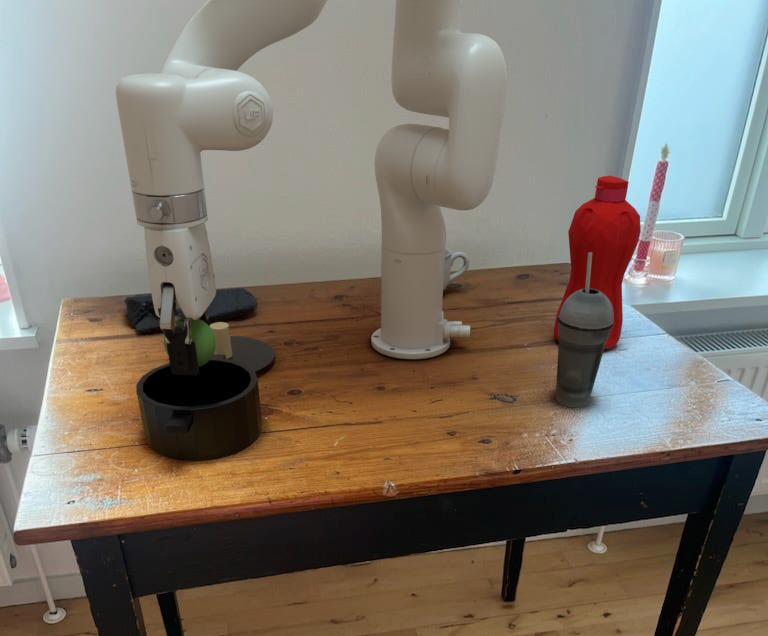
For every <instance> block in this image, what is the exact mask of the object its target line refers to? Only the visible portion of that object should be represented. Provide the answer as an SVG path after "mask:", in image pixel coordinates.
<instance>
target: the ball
mask: <svg viewBox="0 0 768 636" xmlns="http://www.w3.org/2000/svg"><path fill="white" fill-rule="evenodd" d="M175 322H176V324H177V326H180V327H181V328H182V330H183V331H184V321H175ZM191 329H192V342H195V344H196V352H197V359H198V366H199V367H200V366H202V365H204V364H206V363H207V362H208V361H209V360H210V359H211V358H212V356H213V354H214V352H215V347H216V340H215V336H214V333H213V331H212V329H211V328H210V327H209V326H208V325H207V324H206V323H205V322H204V321H202V320H200V319H197V320H193V319H192V318H191ZM163 345H164V349H165V352H166V354H167V356H168V357H169V355H168V349H167V344H166V342H165V335H164V337H163Z"/></svg>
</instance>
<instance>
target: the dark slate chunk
mask: <svg viewBox="0 0 768 636" xmlns="http://www.w3.org/2000/svg"><path fill="white" fill-rule="evenodd" d="M124 303H125V305H126V311H127V315H128V320H129V323H130V326H131V327H134V329H135V330H136V331H137V332H140V333H145V334H149V333H151V332H157V331H162V330H161V328H160V318H159V317H158V316H157V315H156V312H155V309H154V305H153V300H152V294H150V295H141V296H140V295H137V296H128V297H126V298H125V300H124ZM257 308H258V300H257V298H256V297H255V296H254V294H253V293H252V292H250V291H248V290H247V289H246V288H244V287H237V288H224V289H216V295H215V297H214V299H213V300H212V302H211V303H210V305H209V306H208V308H207V309H208V314H209V317H208V320H204V321H209V323H211V324H213V323H217V322H222V321H228V320H232V319H236V320H237V319H238V318H240V317H241V316H243V315H247V314H248V313H251V312H254V311H255V310H256V309H257ZM175 316H184V314H183V311H175Z"/></svg>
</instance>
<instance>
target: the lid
mask: <svg viewBox="0 0 768 636" xmlns="http://www.w3.org/2000/svg"><path fill="white" fill-rule="evenodd" d="M210 328H211V329H212V331H213V333H214V336H215V340H216V347H215V352H214V354H221V355H225V356H226V359H228V360H234V361H237V362H240V363H242V364H245V365H247V366H249V367H250V368H251V369H252V370H253V371H255V373H256V376H257V375H259V374H261V373H263V372H265V371H267V370H268V369H269V368H270V367H271V366H272V365H273V364H274V363H275V360H276V352H275V350H274V348H273V347H272V345H270V344H268V343H267V342H265V341H263V340H261V339H257V338H254V337H249V336H238V335H231V332H230V325H229V323H227V322H224V321H216V322H213V323H210Z"/></svg>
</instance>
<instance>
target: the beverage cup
mask: <svg viewBox="0 0 768 636" xmlns="http://www.w3.org/2000/svg"><path fill="white" fill-rule="evenodd" d="M591 263H592V253H591V252H589V253H588V261H587V273H586V285H585V289H581V290H578V291H576V292H575V293H573V294H572V295H570V296H569V297H568V298H567V299H566V301H565V302H564V304H563V305H562V308H561V311H560V314H559V316H558V319H557V320H558V334H559V341H558V348H557V349H558V351H557V363H556V365H557V366H556V381H555V390H556V391H555V392H556V396H555V400H556V402H558V403H559V404H560V405H562V406H565V407H569V408H582V407H585V406H587V405H588V404H589V401H590V398H591V395H592V393H593V391H594V386H595V382H596V380H597V379H596V378H597V375H598V372H599V369H600V365H601V362H602V357H603V354H604V350H605V349H604V347H605V344H606V340H608V337H609V335H610V332H611V328H612V327H613V325H614V320H613V317H614V311H613V307H612V304H611V302H610V300H609V299H608V297H607V296H606V295H605V294H603V293H602V292H601V291H598V290H596V289H591V288H589V287H590V275H591Z"/></svg>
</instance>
